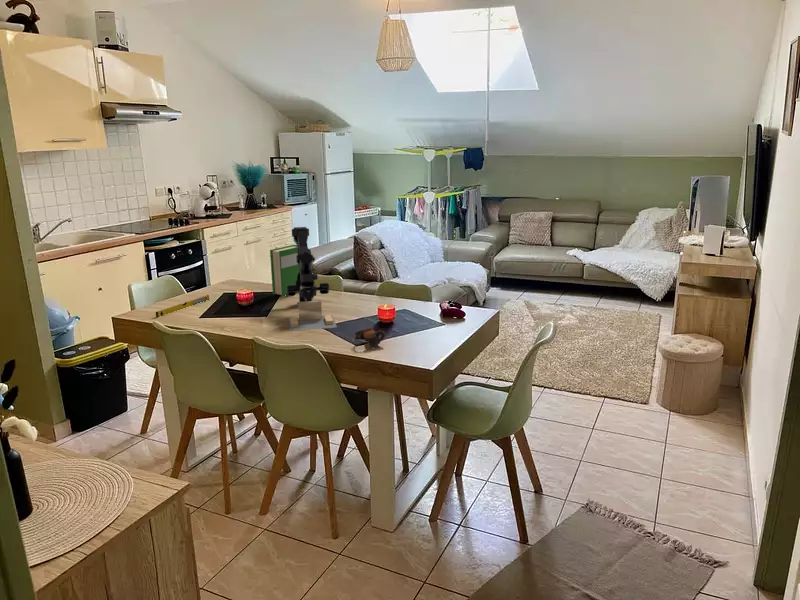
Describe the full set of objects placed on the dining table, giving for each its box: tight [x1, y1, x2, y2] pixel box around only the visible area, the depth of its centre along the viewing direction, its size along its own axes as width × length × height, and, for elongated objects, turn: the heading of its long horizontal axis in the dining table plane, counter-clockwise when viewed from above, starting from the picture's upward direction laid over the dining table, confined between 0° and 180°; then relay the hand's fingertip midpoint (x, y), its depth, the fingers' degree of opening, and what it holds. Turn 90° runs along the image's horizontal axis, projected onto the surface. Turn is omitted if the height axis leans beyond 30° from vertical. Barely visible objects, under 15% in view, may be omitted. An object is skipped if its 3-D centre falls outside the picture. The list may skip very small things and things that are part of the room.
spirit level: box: [155, 294, 210, 318], centre depth 294 cm, size 33×1×3 cm, turn 154°
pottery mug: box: [354, 327, 386, 350], centre depth 239 cm, size 12×10×8 cm
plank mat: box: [287, 314, 338, 332], centre depth 265 cm, size 19×20×3 cm
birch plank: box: [297, 300, 323, 321], centre depth 269 cm, size 2×10×8 cm, turn 103°
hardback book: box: [269, 244, 299, 297], centre depth 319 cm, size 18×7×24 cm, turn 147°
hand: (309, 305), depth 270 cm, fingers closed
